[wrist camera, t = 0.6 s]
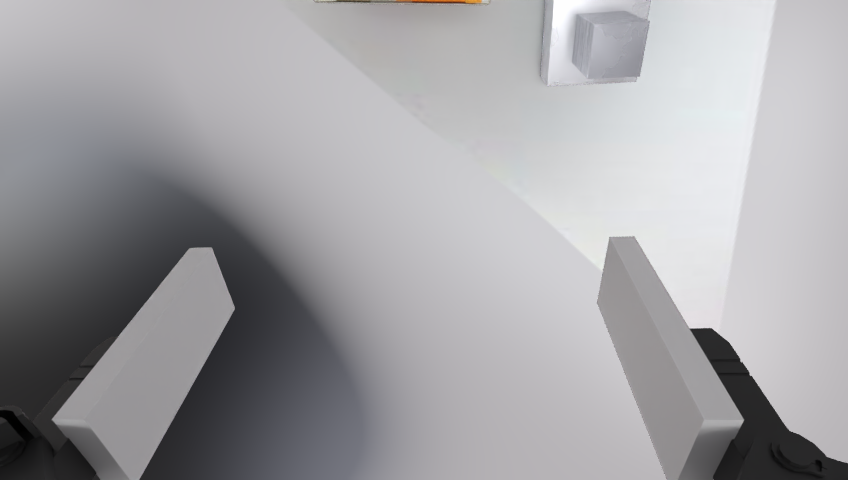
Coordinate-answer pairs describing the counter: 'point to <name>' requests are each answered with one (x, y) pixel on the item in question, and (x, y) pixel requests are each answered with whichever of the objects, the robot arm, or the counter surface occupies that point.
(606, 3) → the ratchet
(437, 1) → the supplement box
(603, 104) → the counter surface
